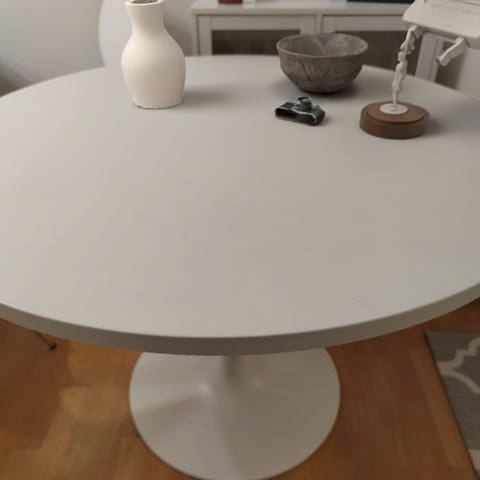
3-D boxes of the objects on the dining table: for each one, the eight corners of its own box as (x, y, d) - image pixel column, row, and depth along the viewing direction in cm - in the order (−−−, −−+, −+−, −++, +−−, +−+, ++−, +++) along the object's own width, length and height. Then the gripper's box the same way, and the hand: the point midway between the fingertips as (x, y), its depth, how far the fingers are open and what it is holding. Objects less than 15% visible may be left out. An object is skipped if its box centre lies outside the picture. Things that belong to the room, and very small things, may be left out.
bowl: (322, 111, 98) (326, 61, 92) (257, 89, 110) (257, 44, 104) (380, 88, 108) (387, 41, 102) (315, 70, 120) (318, 27, 114)
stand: (414, 112, 96) (417, 98, 94) (436, 137, 86) (440, 122, 85) (353, 115, 96) (354, 100, 94) (368, 140, 86) (370, 125, 84)
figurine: (383, 103, 93) (394, 37, 85) (410, 106, 91) (424, 40, 83) (377, 112, 89) (388, 44, 81) (404, 116, 87) (419, 47, 79)
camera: (286, 109, 100) (287, 89, 97) (327, 119, 95) (330, 98, 92) (273, 116, 97) (273, 96, 94) (315, 127, 92) (317, 106, 89)
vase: (200, 94, 109) (192, -4, 96) (167, 114, 100) (152, 9, 86) (151, 86, 114) (137, -8, 101) (115, 105, 105) (94, 4, 92)
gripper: (428, -31, 86) (377, 34, 89) (520, -19, 72) (455, 58, 75) (440, -6, 90) (392, 56, 94) (530, 10, 76) (468, 82, 79)
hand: (421, 57), depth 84 cm, fingers open, 8 cm apart
